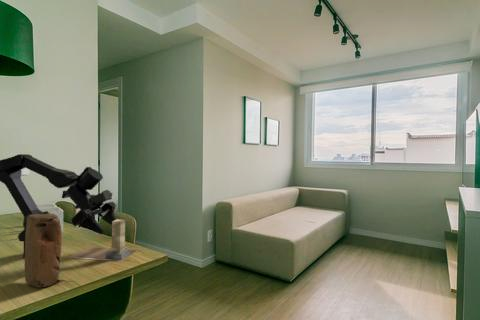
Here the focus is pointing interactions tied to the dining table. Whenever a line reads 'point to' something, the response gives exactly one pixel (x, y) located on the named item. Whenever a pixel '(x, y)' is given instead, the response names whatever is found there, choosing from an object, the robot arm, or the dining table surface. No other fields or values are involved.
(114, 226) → the wooden post with base
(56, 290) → the dining table surface
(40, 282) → the block
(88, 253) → the plank
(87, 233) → the dining table surface
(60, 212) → the storage container
